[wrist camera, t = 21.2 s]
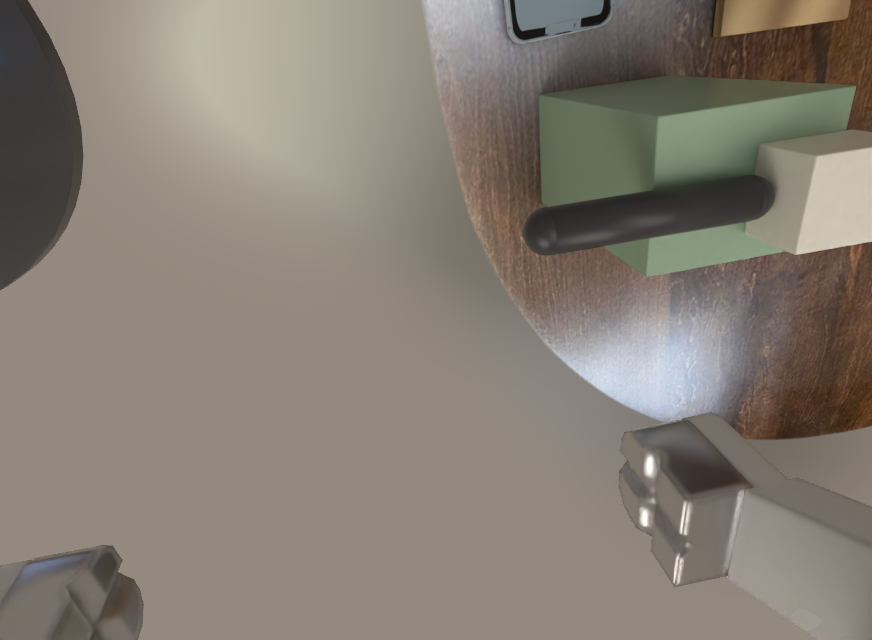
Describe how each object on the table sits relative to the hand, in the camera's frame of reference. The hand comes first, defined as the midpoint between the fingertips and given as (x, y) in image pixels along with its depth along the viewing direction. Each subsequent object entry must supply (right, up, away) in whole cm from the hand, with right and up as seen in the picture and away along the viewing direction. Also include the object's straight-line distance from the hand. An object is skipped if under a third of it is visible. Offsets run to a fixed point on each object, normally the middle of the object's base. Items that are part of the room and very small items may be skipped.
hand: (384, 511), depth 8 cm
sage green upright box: (+14, +17, +32) cm, 38 cm away
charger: (+14, +9, +17) cm, 24 cm away
